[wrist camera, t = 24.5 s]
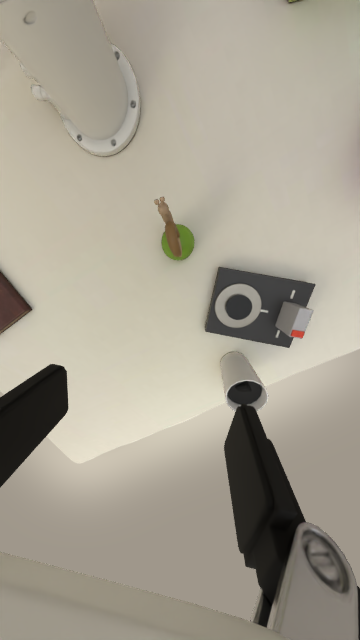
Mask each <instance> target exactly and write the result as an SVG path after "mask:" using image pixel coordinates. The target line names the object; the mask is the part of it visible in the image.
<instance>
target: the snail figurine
mask: <svg viewBox="0 0 360 640" xmlns="http://www.w3.org/2000/svg"><path fill="white" fill-rule="evenodd" d="M160 201H161V203H160V204H159V200H158V199H156V200H155V201H154V203H155V204H156V205H158V211H159V213H160V214H161V216H162V218H163V220H164V222H165V224H166V225H165V232H164V234H163V236H162V248H163V251H164V253H165V254H166V255H167V256H168V257H169V258H171V259H173V260H183V259H185V258H187V257H188V256H189V255H190V254H191V253H192V251H193V248H194V237H193V234H192V232H191V231H190V230H189V229H188V228H187V227H186V226H183V225H180V224H175V223H174V221H173V218H172V215H171V213H170V211H169V208H168V205H167V204H166V203H164V201H165V198H164V197H161V198H160Z"/></svg>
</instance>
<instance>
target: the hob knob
mask: <svg viewBox="0 0 360 640" xmlns="http://www.w3.org/2000/svg"><path fill="white" fill-rule="evenodd" d="M312 313H313V310H311V309H309V308H306V307H303V306H301V305H298V304H295V303H290V302H283V305H282V308H281V311H280V313H279V316H278V319H277V322H276V325H275V326H276V327H277V328H279V329H280V330H281V331H283V332H284V333H285V334H286V335H288V336H289V337H295V338H300V339H302V338H303V335H304V333H305V330H306V328H307V325H308V323H309V320H310V318H311V316H312Z"/></svg>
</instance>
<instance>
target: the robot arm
mask: <svg viewBox="0 0 360 640" xmlns="http://www.w3.org/2000/svg"><path fill="white" fill-rule="evenodd" d="M0 40H1V41H2V42H3V43H4V44H5V45H6V46H7V48H8V49H9V50H10V51H11V52H12V53H13V55H14V56H15V57H16V58H17V59H18V60H19V62H20V66H21V68H22V70H23V72H24V74H25V75H26V76H27V77H28V78H29V79H35V80H36V81H37V82H38V83H39V84H40V85H35V84H32V85H31V89H32V93H33V95H34V97H35V98H36V99H37V100H40V101H50V102H51V103H52V104H53V105H54V107H55V108H56V109H57V110H58V111H59V112H60V115H61V118H62V121H63V123H64V125H65V127H66V129H67V131H68V132H69V134H70V135H71V137H72V138H73V139H74V140H75V141H76V142H77V143H78V144H79V145H80V146H81V147H82V148H83V149H85V150H86V151H88V152H89V153H92V154H94V155H98V156H110V155H113V154H116V153H118V152H119V151H121V150H122V149H124V148H125V147H126V146H127V145H128V143H129V142H130V140H131V139H132V137H133V136H134V133H135V131H136V129H137V126H138V122H139V118H140V109H141V106H140V93H139V87H138V84H137V80H136V77H135V74H134V72H133V69H132V67H131V65H130V63H129V61H128V60H127V58H126V57H125V55H124V54H123V53H122V52H121V50H120V49H119V48H117V47H116V46H115V45H113V44H112V43H111V42H109V39H108V36H107V34H106V31H105V29H104V26H103V24H102V21H101V19H100V16H99V13H98V11H97V8H96V6H95V3H94V1H93V0H0ZM67 411H68V391H67V371H66V370H65V368H64V367H63V366H60V365H55V364H50V365H49V366H47V367H46V368H44V369H43V370H41V371H39V372H38V373H36V374H35V375H33V376H32V377H30V378H29V379H27V380H26V381H24V382H23V383H21V384H20V385H18V386H17V387H15V388H14V389H12V390H11V391H9V392H8V393H6V394H5V395H3V396H2V397H0V487H1V486H2V485H3V484H4V483H5V482H6V480H7V479H8V478H9V477H10V476H11V475H12V474H13V473H14V472H15V470H16V469H17V468H18V467H19V466H20V465H21V464H22V463H23V462H24V460H25V459H26V458H27V457H28V456H29V455H30V454H31V452H32V451H33V450H34V449H35V448H36V447H37V446H38V445H39V444H40V443H41V441H42V440H43V439H44V438H45V437H46V436H47V435H48V434H49V432H50V431H51V430H52V429H53V428H54V427H55V426H56V425H57V424H58V422H59V421H60V420H61V419H62V418H63V417H64V416H65V414H66V413H67ZM224 451H225V458H226V465H227V472H228V479H229V486H230V493H231V499H232V506H233V513H234V520H235V527H236V534H237V541H238V547H239V550H240V552H241V553H243V554H244V559H245V565H246V567H250V568H254V569H256V573H257V578H258V583H259V586H260V587H261V588H260V591H259V595H258V597H257V601H256V604H255V607H254V610H253V613H252V616H251V620H250V621H248V620H245V619H242V618H239V617H236V616H232V615H229V614H226V613H222V612H219V611H215V610H212V609H209V608H206V607H202V606H199V605H196V604H193V603H189V602H185V601H182V600H178V599H175V598H171V597H167V596H163V595H160V594H156V593H153V592H149V591H145V590H141V589H138V588H134V587H130V586H127V585H123V584H119V583H116V582H112V581H108V580H105V579H101V578H97V577H93V576H89V575H86V574H82V573H78V572H74V571H71V570H67V569H63V568H59V567H56V566H52V565H48V564H44V563H41V562H36V561H33V560H29V559H25V558H21V557H18V556H14V555H10V554H6V553H2V552H0V640H360V588H359V587H358V586H357V584H356V579H355V576H354V574H353V571H352V568H351V566H350V564H349V563H348V561H347V559H346V557H345V555H344V554H343V552H342V551H341V550H340V548H339V547H338V546H337V544H336V543H335V542H334V541H333V540H332V539H331V537H329V535H328V534H327V533H326V532H324V531H323V530H322V529H320V528H319V527H318V526H316V525H314V524H312V523H307V522H306V521H305V519H304V516H303V514H302V512H301V509H300V507H299V505H298V502H297V500H296V498H295V495H294V493H293V490H292V488H291V486H290V483H289V481H288V479H287V476H286V474H285V472H284V469H283V467H282V465H281V462H280V460H279V457H278V455H277V453H276V450H275V448H274V446H273V444H272V442H271V441H270V440H269V439H267V437H266V434H265V432H264V430H263V427H262V424H261V422H260V419H259V417H258V415H257V412H256V409H255V408H254V407H253V406H249V405H245V404H242V405H241V406H238V407H237V409H236V412H235V415H234V418H233V421H232V424H231V426H230V430H229V432H228V435H227V438H226V441H225V445H224Z"/></svg>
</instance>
